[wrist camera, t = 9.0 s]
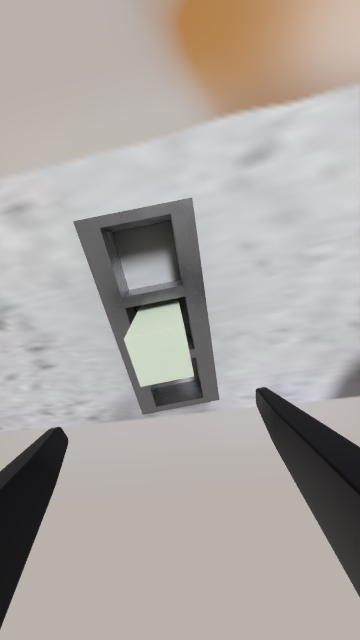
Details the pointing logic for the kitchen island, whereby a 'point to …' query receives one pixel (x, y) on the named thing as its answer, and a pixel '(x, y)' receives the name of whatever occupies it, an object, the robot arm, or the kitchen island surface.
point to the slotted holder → (154, 296)
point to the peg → (159, 343)
